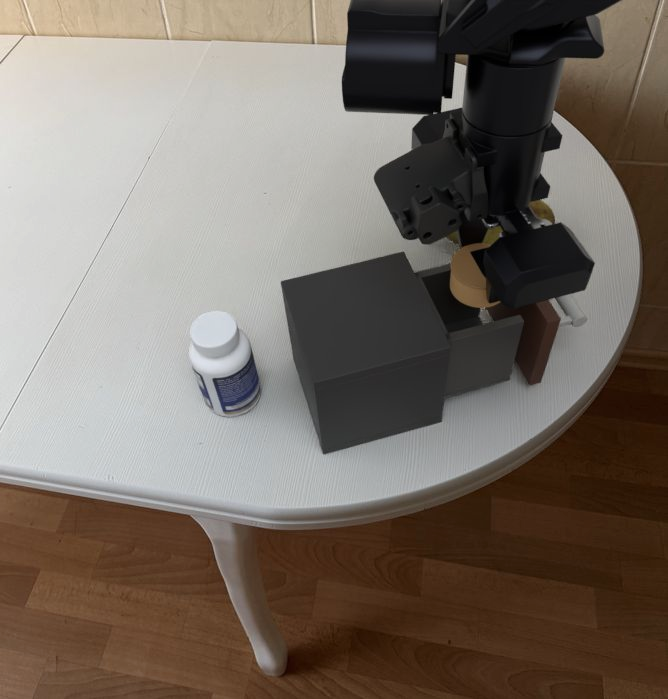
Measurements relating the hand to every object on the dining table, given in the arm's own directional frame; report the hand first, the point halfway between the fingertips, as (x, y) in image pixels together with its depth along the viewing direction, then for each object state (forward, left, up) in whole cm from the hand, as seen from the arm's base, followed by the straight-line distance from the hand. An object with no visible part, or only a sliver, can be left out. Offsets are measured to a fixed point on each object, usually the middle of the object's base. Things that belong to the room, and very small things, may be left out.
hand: (480, 277), depth 57 cm
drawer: (-1, -2, -11) cm, 11 cm away
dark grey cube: (+7, +8, -12) cm, 15 cm away
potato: (+6, -15, -12) cm, 20 cm away
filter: (0, 0, -1) cm, 1 cm away
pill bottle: (+17, +15, -12) cm, 25 cm away
